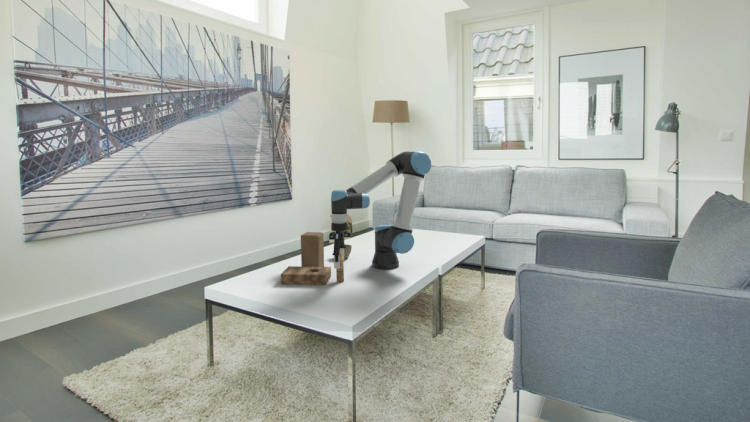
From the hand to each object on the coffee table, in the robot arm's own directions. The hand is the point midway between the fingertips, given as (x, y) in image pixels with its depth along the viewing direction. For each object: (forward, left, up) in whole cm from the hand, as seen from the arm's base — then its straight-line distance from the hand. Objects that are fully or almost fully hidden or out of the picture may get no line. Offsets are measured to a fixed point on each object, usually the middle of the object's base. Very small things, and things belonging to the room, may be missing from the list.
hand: (339, 264), depth 212 cm
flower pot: (+5, -46, -9) cm, 47 cm away
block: (+18, -20, -9) cm, 28 cm away
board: (+17, -1, -9) cm, 19 cm away
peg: (0, 0, -9) cm, 9 cm away
